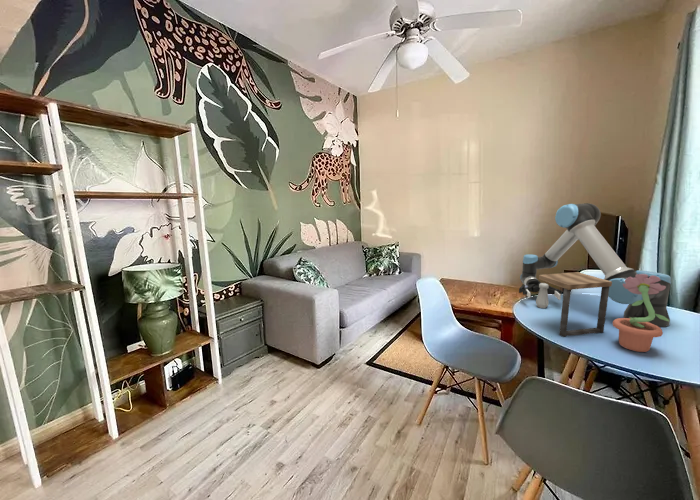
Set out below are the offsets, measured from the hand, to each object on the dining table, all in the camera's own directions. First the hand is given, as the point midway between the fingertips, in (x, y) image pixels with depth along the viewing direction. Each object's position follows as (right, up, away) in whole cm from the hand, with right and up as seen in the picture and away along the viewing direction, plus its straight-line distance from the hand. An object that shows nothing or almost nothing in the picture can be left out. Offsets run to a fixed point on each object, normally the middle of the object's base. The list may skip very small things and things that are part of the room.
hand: (544, 296), depth 152 cm
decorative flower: (+10, -14, -39) cm, 42 cm away
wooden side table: (-2, -11, -20) cm, 23 cm away
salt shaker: (+1, -6, +4) cm, 8 cm away
